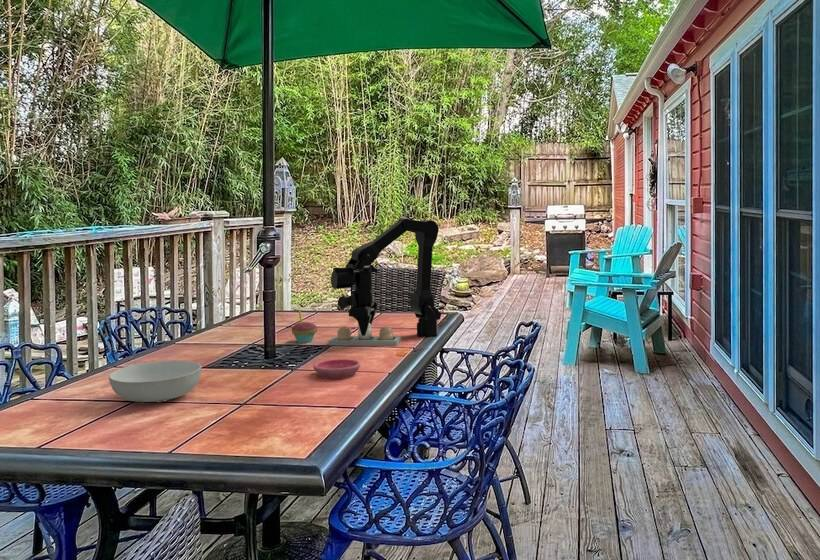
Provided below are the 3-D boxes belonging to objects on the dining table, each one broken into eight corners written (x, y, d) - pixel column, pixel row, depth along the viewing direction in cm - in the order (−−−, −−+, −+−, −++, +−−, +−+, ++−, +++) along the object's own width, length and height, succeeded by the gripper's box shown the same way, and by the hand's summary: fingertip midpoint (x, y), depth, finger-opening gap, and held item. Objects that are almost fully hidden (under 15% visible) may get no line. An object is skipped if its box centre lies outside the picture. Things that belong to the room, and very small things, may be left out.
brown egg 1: (352, 341, 225) (351, 325, 225) (349, 344, 221) (348, 327, 220) (339, 341, 226) (338, 325, 225) (336, 343, 222) (335, 327, 221)
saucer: (304, 375, 183) (304, 364, 183) (341, 367, 192) (340, 356, 191) (333, 383, 174) (333, 371, 174) (370, 374, 183) (369, 362, 182)
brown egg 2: (394, 341, 223) (393, 325, 223) (391, 344, 219) (391, 327, 218) (381, 341, 224) (380, 325, 223) (378, 344, 219) (377, 327, 219)
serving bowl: (93, 401, 162) (91, 373, 162) (171, 382, 179) (170, 357, 178) (141, 416, 149) (139, 385, 149) (220, 394, 166) (219, 366, 165)
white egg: (373, 336, 224) (372, 319, 223) (370, 338, 220) (369, 322, 219) (360, 336, 225) (359, 319, 224) (357, 338, 220) (356, 322, 220)
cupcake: (286, 344, 226) (285, 308, 225) (302, 340, 233) (300, 305, 232) (308, 346, 222) (306, 310, 221) (323, 341, 229) (321, 306, 228)
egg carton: (401, 342, 225) (401, 336, 225) (397, 347, 217) (396, 341, 216) (335, 341, 228) (335, 336, 228) (328, 346, 220) (328, 340, 220)
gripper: (346, 283, 231) (347, 329, 232) (331, 290, 212) (333, 339, 214) (378, 283, 229) (379, 329, 231) (366, 290, 211) (368, 339, 212)
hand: (365, 334), depth 222 cm, fingers closed on white egg, 4 cm apart
